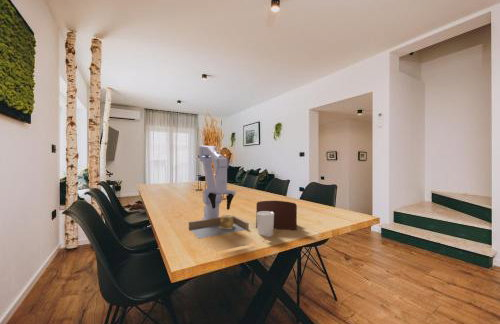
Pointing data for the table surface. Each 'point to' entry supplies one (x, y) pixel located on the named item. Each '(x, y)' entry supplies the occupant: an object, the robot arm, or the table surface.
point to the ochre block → (226, 221)
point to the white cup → (265, 223)
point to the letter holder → (280, 213)
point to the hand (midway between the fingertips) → (221, 208)
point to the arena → (216, 227)
